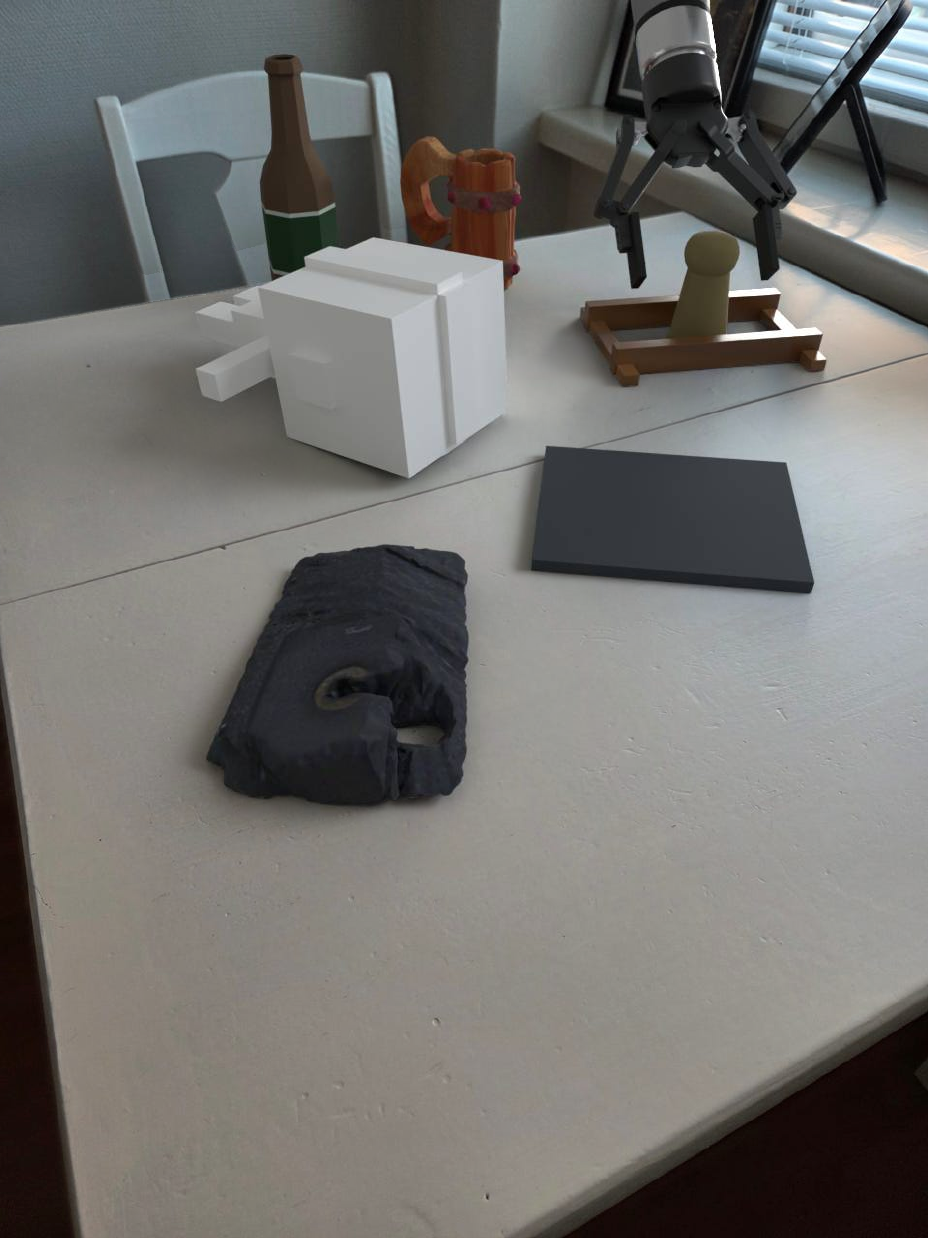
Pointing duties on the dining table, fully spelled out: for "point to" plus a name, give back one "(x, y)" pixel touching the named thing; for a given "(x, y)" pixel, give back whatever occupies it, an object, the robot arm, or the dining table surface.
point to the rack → (702, 350)
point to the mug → (464, 201)
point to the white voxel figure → (371, 350)
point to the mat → (670, 519)
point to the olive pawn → (705, 285)
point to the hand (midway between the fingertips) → (705, 279)
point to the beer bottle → (293, 176)
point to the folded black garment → (354, 681)
